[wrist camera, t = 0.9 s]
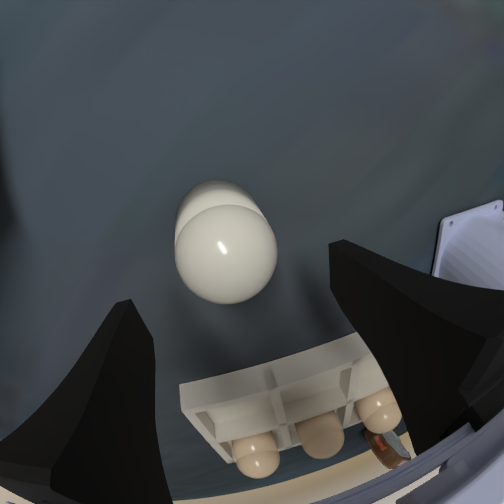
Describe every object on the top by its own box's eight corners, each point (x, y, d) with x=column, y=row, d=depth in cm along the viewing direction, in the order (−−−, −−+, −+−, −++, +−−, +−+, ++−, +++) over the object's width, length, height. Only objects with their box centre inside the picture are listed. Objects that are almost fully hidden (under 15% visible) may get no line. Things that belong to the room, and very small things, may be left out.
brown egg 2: (388, 371, 28) (413, 411, 23) (382, 391, 30) (403, 428, 25) (352, 387, 27) (375, 431, 22) (349, 406, 30) (369, 445, 25)
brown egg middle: (331, 395, 27) (352, 441, 22) (330, 413, 29) (348, 454, 24) (290, 410, 27) (308, 458, 22) (293, 426, 29) (309, 469, 24)
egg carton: (412, 308, 24) (427, 326, 22) (389, 389, 31) (398, 404, 29) (179, 384, 22) (181, 410, 20) (224, 445, 30) (227, 463, 27)
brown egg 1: (267, 416, 26) (282, 466, 21) (272, 432, 29) (286, 475, 24) (225, 427, 26) (235, 477, 21) (234, 441, 28) (245, 486, 23)
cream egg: (248, 171, 15) (283, 213, 10) (263, 243, 17) (296, 308, 12) (165, 193, 15) (157, 247, 10) (188, 264, 17) (195, 336, 12)
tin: (357, 426, 36) (379, 471, 29) (375, 415, 35) (399, 460, 28) (382, 437, 43) (400, 471, 36) (397, 428, 43) (415, 461, 36)
